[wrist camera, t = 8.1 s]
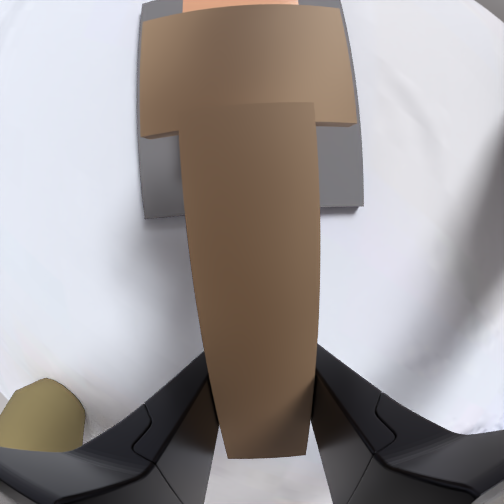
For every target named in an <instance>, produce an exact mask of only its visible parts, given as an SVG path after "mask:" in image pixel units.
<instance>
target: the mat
mask: <svg viewBox="0 0 504 504" xmlns="http://www.w3.org/2000/svg"><path fill="white" fill-rule="evenodd" d="M298 4H299V5H311V6H323V7H332V8H339V9H340V13H341V18H342V22H343V27H344V32H345V37H346V42H347V48H348V54H349V60H350V66H351V73H352V80H353V87H354V96H355V105H356V114H357V124H355V125H352V126H350V127H329V126H316V135H317V150H318V168H319V194H320V207H355V206H364V189H363V157H362V140H361V126H360V115H359V105H358V96H357V88H356V80H355V73H354V66H353V60H352V54H351V48H350V43H349V37H348V32H347V27H346V23H345V18H344V14H343V9H342V5H341V1H340V0H298ZM179 13H183V0H155V1H151V2H148V3H144V4H142V12H141V22H140V34H139V49H138V73H137V122H138V147H139V164H140V177H141V188H142V198H143V208H144V216H145V219H150V218H160V217H171V216H182V215H185V209H184V199H183V188H182V175H181V162H180V146H179V135H176V136H170V137H163V138H157V139H151V140H150V139H146V138H143V137H141V134H140V56H141V38H142V25H143V22H144V21H148V20H152V19H156V18H160V17H164V16H169V15H174V14H179Z"/></svg>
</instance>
